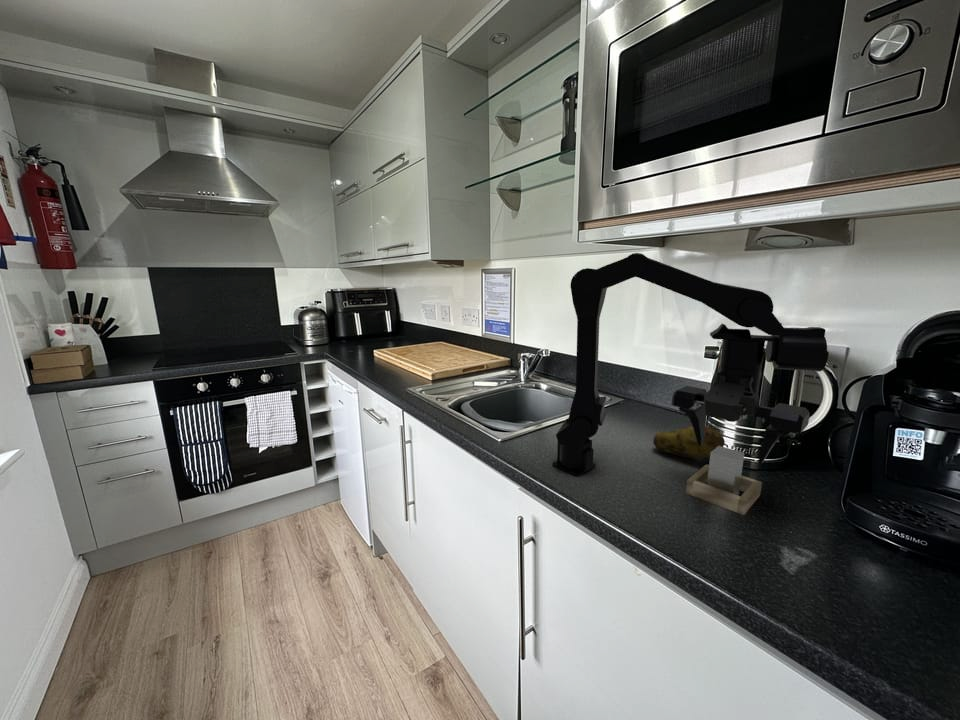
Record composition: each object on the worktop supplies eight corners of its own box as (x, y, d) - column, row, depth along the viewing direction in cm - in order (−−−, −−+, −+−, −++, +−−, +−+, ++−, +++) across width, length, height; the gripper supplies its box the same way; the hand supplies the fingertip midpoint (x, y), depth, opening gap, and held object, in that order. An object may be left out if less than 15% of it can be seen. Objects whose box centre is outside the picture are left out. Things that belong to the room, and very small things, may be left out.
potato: (673, 443, 90) (676, 410, 88) (728, 466, 79) (733, 429, 77) (647, 450, 86) (650, 416, 85) (701, 475, 75) (706, 437, 73)
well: (685, 493, 69) (687, 480, 69) (705, 476, 75) (706, 464, 74) (744, 515, 62) (745, 501, 62) (760, 494, 68) (762, 482, 68)
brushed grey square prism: (705, 493, 69) (710, 452, 67) (713, 485, 71) (718, 445, 70) (731, 503, 66) (736, 460, 64) (738, 494, 68) (744, 452, 67)
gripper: (661, 365, 66) (654, 450, 69) (801, 386, 52) (784, 492, 55) (688, 356, 73) (680, 433, 76) (817, 372, 59) (801, 466, 62)
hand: (729, 453), depth 67 cm, fingers open, 9 cm apart
